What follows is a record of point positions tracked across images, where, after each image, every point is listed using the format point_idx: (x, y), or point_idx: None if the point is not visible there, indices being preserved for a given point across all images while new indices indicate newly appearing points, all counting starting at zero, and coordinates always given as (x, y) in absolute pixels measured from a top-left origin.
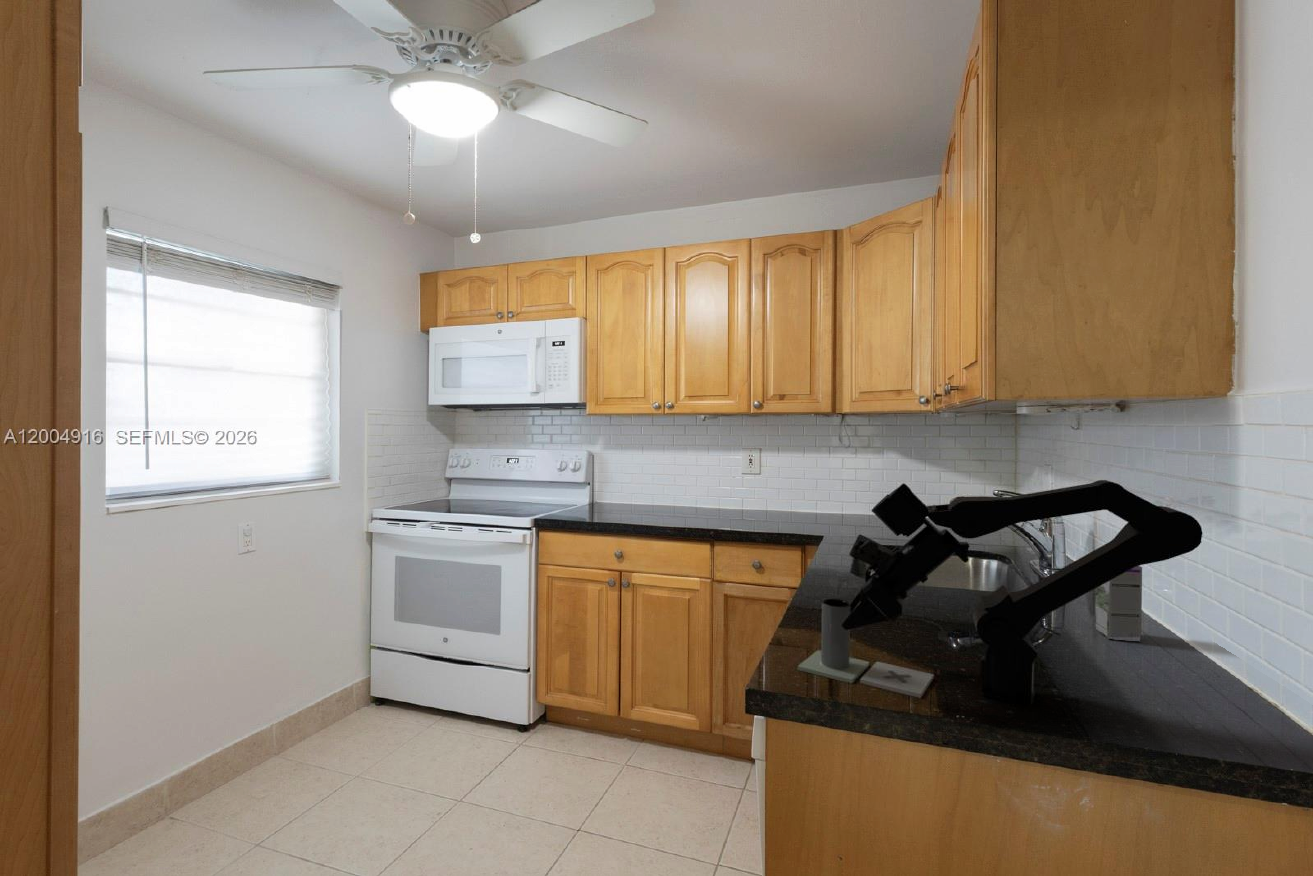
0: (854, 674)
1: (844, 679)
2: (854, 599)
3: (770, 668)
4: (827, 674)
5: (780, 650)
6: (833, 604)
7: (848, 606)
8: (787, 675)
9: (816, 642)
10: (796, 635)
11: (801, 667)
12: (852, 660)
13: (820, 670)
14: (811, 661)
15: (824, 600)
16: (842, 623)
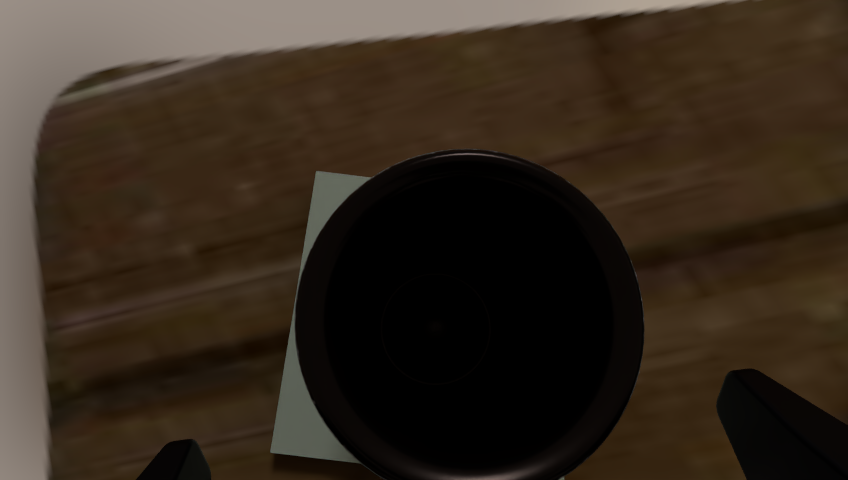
0: (346, 450)
1: (277, 412)
2: (837, 476)
3: (280, 65)
4: (291, 323)
5: (520, 43)
6: (572, 263)
7: None
8: (235, 153)
9: (728, 165)
10: (765, 54)
11: (314, 190)
12: None
13: None
14: None
15: (490, 164)
16: (162, 454)
